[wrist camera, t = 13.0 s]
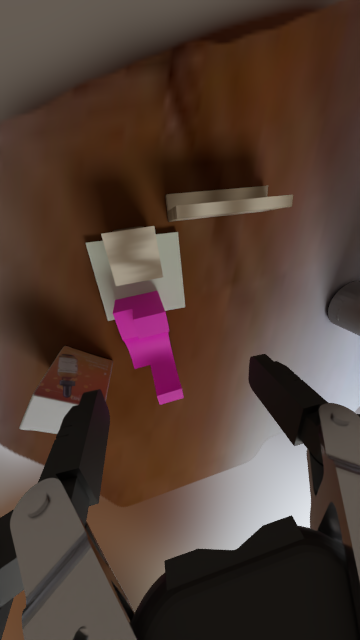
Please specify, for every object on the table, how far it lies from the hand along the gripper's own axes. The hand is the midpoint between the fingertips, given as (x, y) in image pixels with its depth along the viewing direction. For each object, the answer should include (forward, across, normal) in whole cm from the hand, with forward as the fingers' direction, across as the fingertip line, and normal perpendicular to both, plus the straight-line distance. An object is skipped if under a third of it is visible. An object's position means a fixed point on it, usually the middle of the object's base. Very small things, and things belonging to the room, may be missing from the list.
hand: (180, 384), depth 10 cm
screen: (+21, -11, -9) cm, 26 cm away
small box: (+21, +13, +11) cm, 28 cm away
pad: (+21, +1, -2) cm, 21 cm away
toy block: (+21, +2, +8) cm, 22 cm away
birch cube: (+18, +2, -2) cm, 18 cm away
